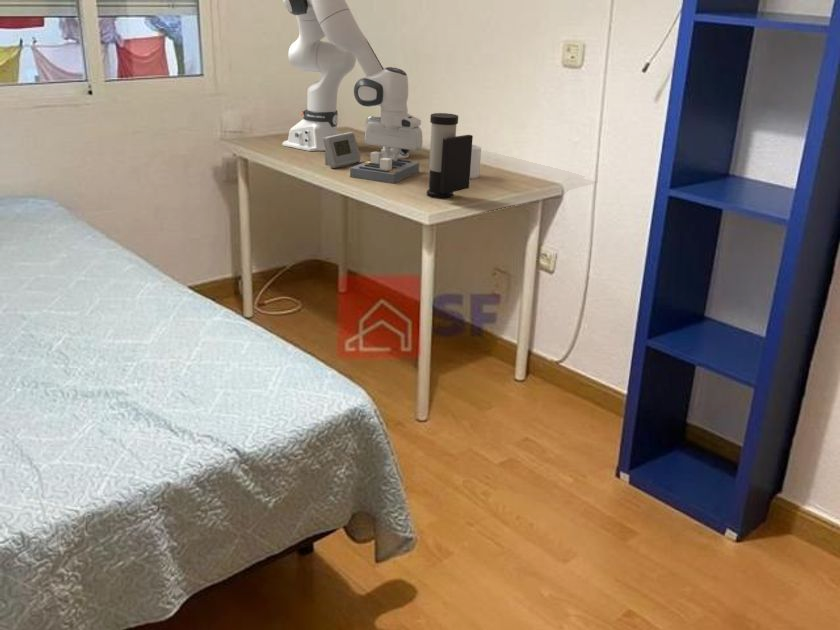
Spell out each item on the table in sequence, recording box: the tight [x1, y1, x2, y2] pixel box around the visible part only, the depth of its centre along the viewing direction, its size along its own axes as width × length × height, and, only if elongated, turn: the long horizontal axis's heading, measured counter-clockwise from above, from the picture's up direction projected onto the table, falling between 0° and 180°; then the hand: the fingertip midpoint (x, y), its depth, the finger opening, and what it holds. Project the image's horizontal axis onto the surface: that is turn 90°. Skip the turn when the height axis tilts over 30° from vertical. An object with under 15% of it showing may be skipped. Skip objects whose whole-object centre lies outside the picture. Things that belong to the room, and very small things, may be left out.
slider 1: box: [370, 151, 383, 164], centre depth 278 cm, size 3×3×4 cm
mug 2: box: [470, 144, 482, 180], centre depth 281 cm, size 12×8×10 cm
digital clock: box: [323, 131, 361, 169], centre depth 287 cm, size 16×9×11 cm, turn 135°
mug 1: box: [382, 146, 410, 159], centre depth 305 cm, size 13×10×8 cm
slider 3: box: [380, 158, 392, 171], centre depth 270 cm, size 3×3×4 cm
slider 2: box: [380, 148, 393, 158], centre depth 284 cm, size 3×3×4 cm
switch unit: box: [349, 158, 420, 184], centre depth 278 cm, size 16×21×4 cm
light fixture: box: [426, 112, 474, 199], centre depth 250 cm, size 12×11×25 cm
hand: (392, 160), depth 275 cm, fingers closed
